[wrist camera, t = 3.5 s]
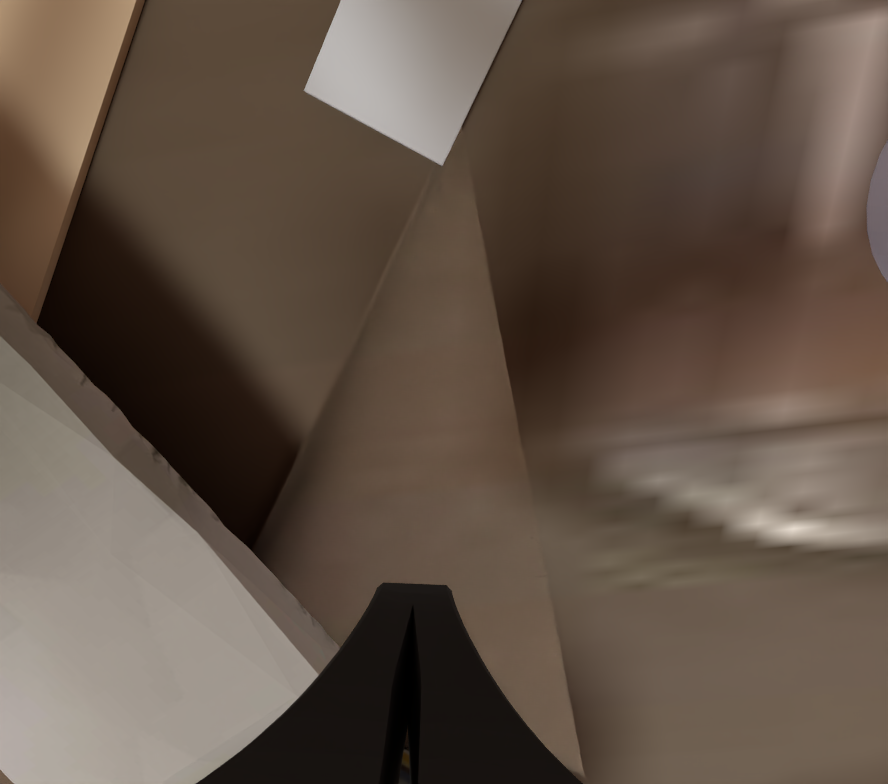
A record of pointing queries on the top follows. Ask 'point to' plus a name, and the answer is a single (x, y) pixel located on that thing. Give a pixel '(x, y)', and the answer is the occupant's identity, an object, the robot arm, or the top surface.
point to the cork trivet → (51, 124)
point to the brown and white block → (410, 65)
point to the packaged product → (124, 595)
